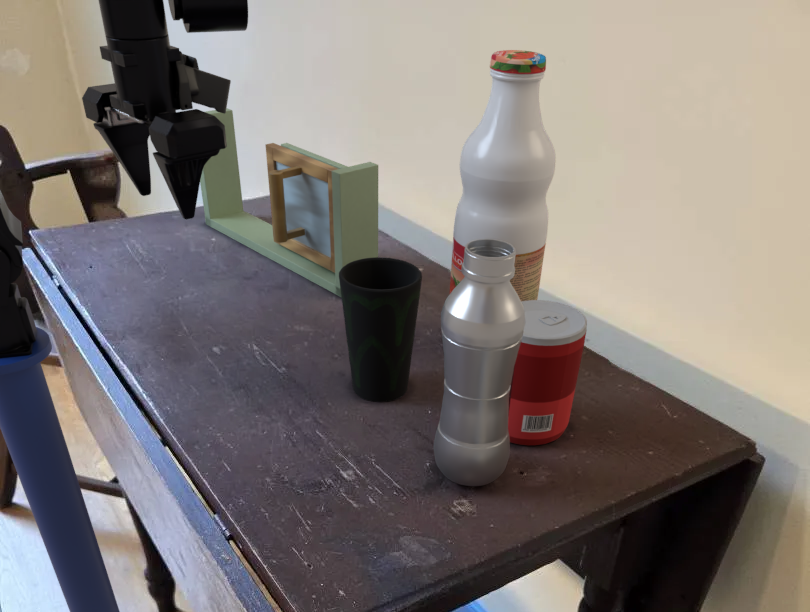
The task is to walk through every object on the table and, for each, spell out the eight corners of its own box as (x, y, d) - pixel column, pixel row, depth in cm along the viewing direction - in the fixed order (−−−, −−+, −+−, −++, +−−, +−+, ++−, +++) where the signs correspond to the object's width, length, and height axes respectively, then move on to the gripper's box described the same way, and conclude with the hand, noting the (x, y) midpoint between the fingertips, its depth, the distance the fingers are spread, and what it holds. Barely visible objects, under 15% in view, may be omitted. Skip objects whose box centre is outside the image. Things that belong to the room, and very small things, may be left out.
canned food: (583, 424, 75) (605, 318, 68) (533, 458, 71) (551, 348, 64) (519, 394, 79) (534, 291, 72) (469, 425, 75) (479, 317, 67)
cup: (353, 365, 83) (350, 253, 75) (423, 373, 82) (428, 261, 74) (333, 402, 77) (329, 285, 69) (409, 412, 76) (412, 295, 68)
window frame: (205, 224, 112) (189, 113, 103) (238, 216, 115) (226, 107, 106) (343, 299, 95) (340, 174, 85) (378, 287, 98) (378, 164, 88)
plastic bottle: (477, 506, 65) (503, 274, 52) (416, 473, 69) (425, 248, 55) (521, 472, 69) (555, 248, 56) (460, 442, 72) (479, 224, 59)
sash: (247, 249, 102) (236, 150, 94) (281, 239, 105) (273, 142, 97) (311, 283, 94) (305, 179, 86) (346, 272, 97) (343, 170, 89)
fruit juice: (525, 371, 83) (569, 69, 64) (438, 360, 84) (457, 60, 66) (534, 332, 90) (575, 48, 71) (453, 322, 91) (474, 41, 72)
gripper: (265, 41, 72) (279, 214, 82) (165, 14, 82) (188, 170, 93) (156, 55, 66) (185, 238, 77) (63, 23, 77) (100, 189, 87)
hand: (166, 206), depth 83 cm, fingers open, 9 cm apart
